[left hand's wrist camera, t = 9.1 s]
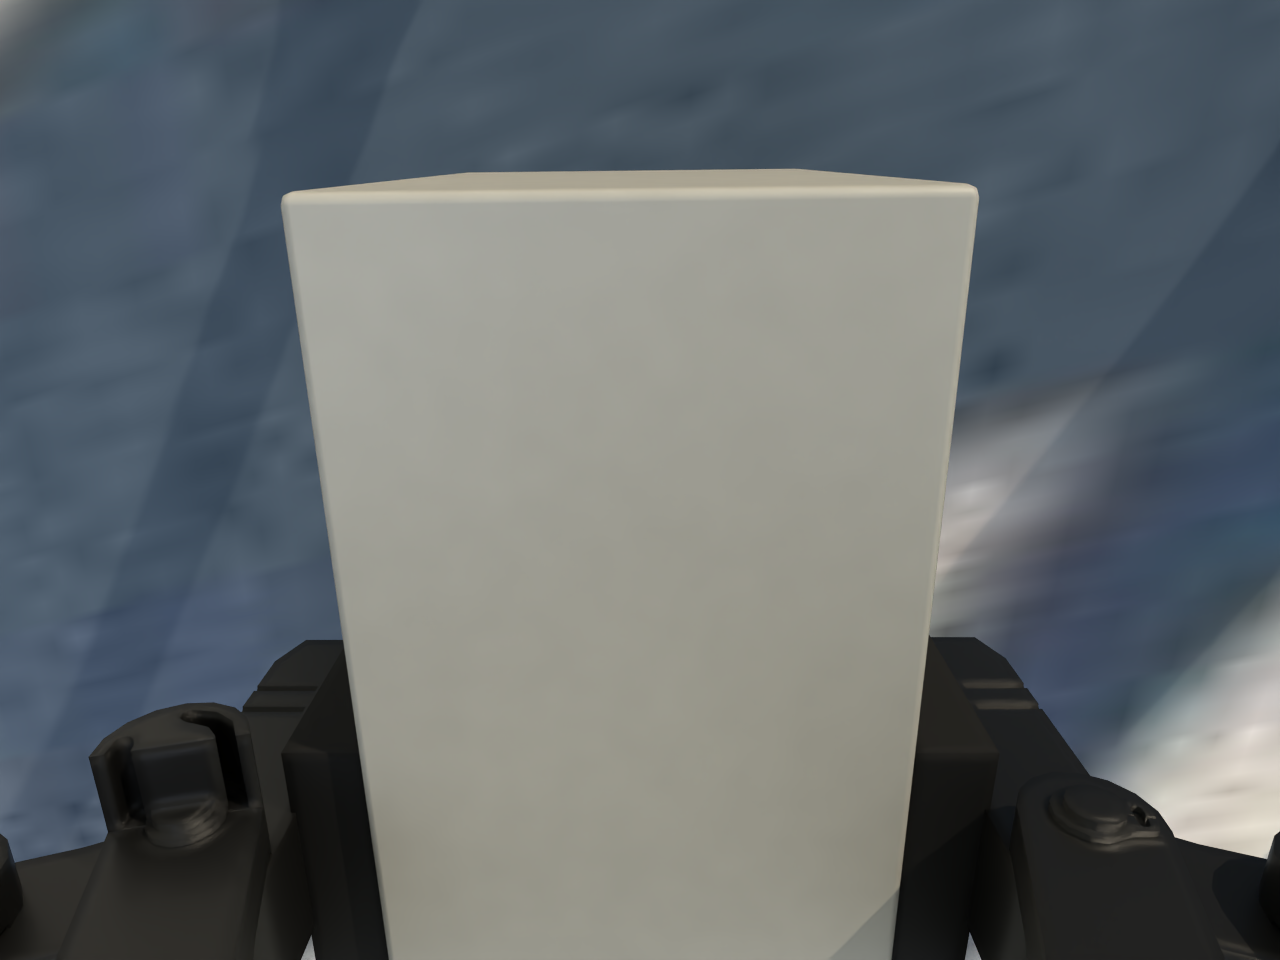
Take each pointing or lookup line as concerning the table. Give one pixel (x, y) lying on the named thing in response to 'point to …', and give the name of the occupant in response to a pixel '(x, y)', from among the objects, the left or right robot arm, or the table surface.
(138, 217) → the table surface
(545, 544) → the post
